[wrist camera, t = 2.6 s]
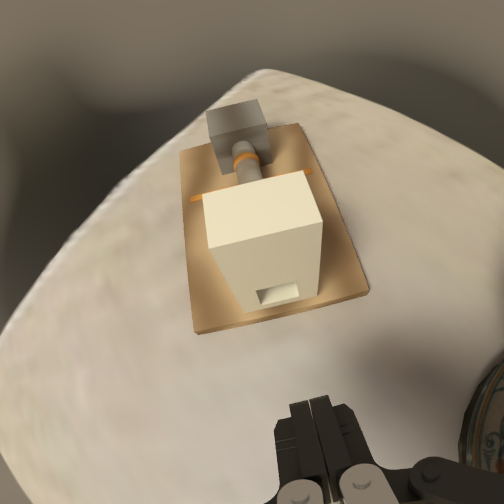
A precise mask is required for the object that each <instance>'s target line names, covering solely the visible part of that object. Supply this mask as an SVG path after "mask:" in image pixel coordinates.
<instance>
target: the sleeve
mask: <svg viewBox="0 0 504 504" xmlns="http://www.w3.org/2000/svg"><path fill="white" fill-rule="evenodd" d="M202 198H203V207H204V216H205V224H206V232H207V240H208V248H209V250H210V252H211V254H212V256H213V258H214V260H215V261H216V263H217V265H218V267H219V269H220V271H221V272H222V274H223V276H224V278H225V280H226V282H227V283H228V285H229V287H230V289H231V291H232V292H233V294H234V296H235V298H236V300H237V301H238V303H239V305H240V307H241V308H242V310H243V312H244V313H248V312H253V311H257V310H261V309H266V308H270V307H274V306H279V305H283V304H287V303H291V302H295V301H299V300H303V299H307V298H311V297H315V296H317V292H318V281H319V269H320V256H321V242H322V227H323V221H322V218H321V215H320V213H319V210H318V207H317V205H316V202H315V200H314V197H313V195H312V192H311V189H310V187H309V184H308V182H307V179H306V177H305V174H304V172H303V170H302V171H298V172H293V173H288V174H284V175H279V176H275V177H271V178H266V179H262V180H258V181H253V182H249V183H245V184H241V185H237V186H233V187H229V188H225V189H221V190H217V191H213V192H210V193H206V194H202Z"/></svg>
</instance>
